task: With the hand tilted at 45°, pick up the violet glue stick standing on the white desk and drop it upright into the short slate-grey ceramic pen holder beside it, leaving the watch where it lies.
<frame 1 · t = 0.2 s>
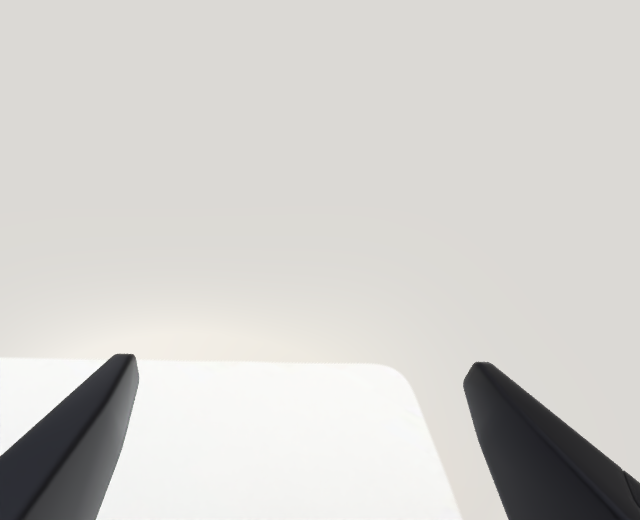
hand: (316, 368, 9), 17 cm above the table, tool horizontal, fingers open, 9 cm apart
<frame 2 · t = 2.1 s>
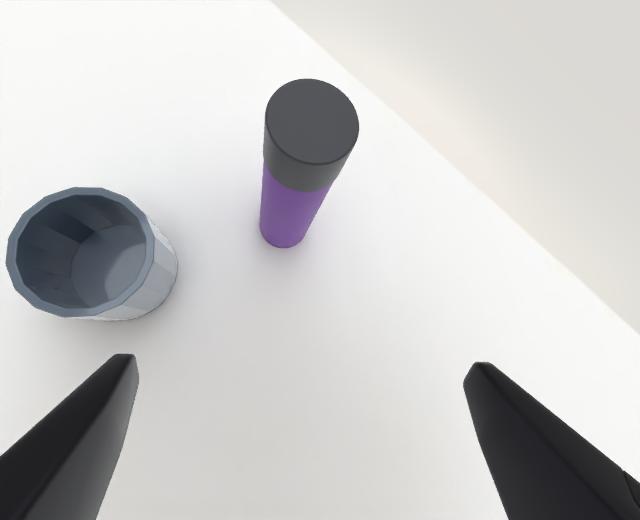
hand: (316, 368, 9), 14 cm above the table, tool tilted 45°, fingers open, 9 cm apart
glue stick: (283, 225, 24), on the table
pen holder: (124, 269, 22), on the table
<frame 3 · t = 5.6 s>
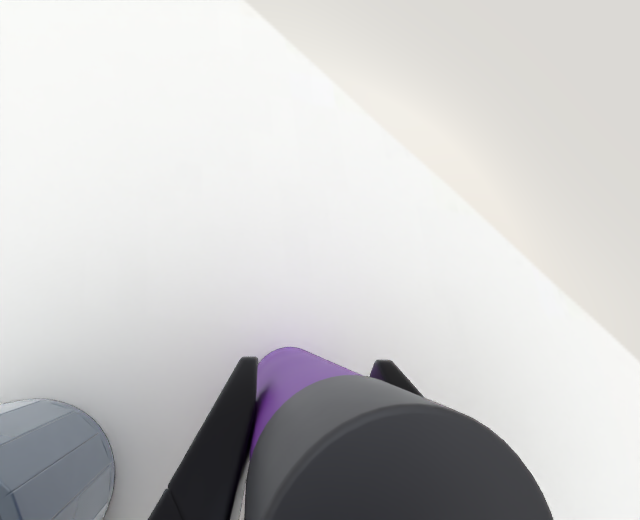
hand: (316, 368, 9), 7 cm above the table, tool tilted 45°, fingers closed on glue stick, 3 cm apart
glue stick: (288, 384, 15), on the table, touching gripper
pen holder: (23, 487, 13), on the table
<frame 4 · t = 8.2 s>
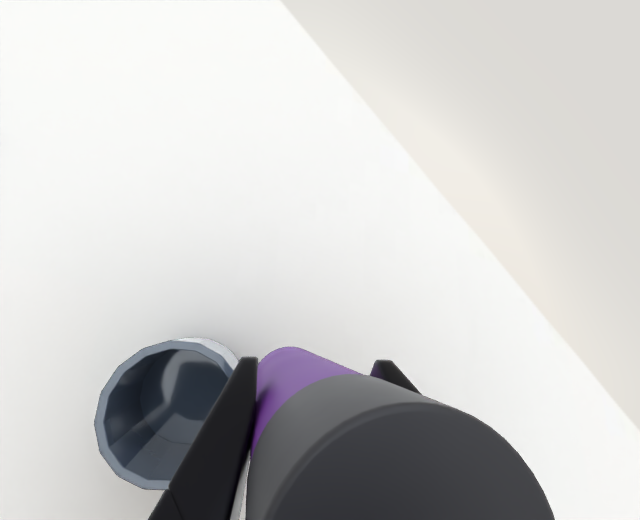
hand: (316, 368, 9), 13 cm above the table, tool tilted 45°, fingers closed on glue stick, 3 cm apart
glue stick: (288, 384, 15), point 7 cm above the table, touching gripper
pen holder: (192, 391, 21), on the table
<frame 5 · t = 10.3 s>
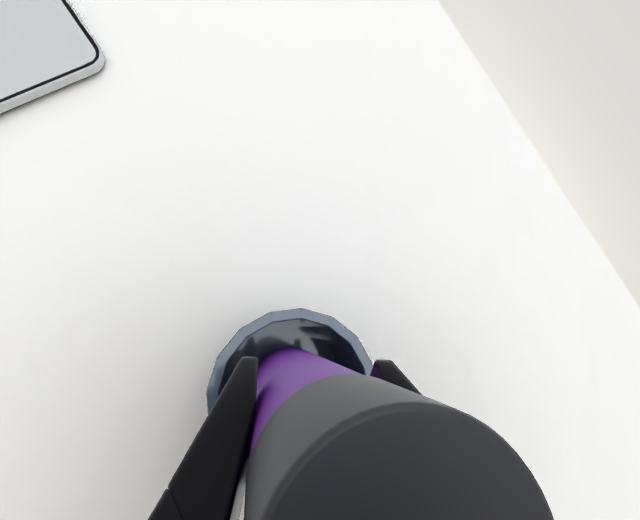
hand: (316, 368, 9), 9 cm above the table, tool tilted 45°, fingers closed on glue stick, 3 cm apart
glue stick: (288, 384, 15), point 3 cm above the table, touching gripper
pen holder: (283, 375, 18), on the table
when the fingers open (7 cm above the table, at t = 11.3 s): glue stick stays where it is, resting on pen holder.
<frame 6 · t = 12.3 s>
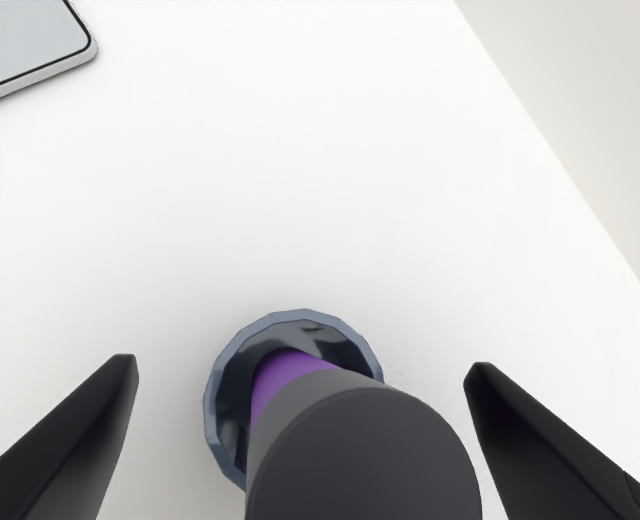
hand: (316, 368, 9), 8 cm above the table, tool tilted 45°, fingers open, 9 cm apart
glue stick: (285, 381, 17), resting on pen holder
pen holder: (284, 379, 17), on the table
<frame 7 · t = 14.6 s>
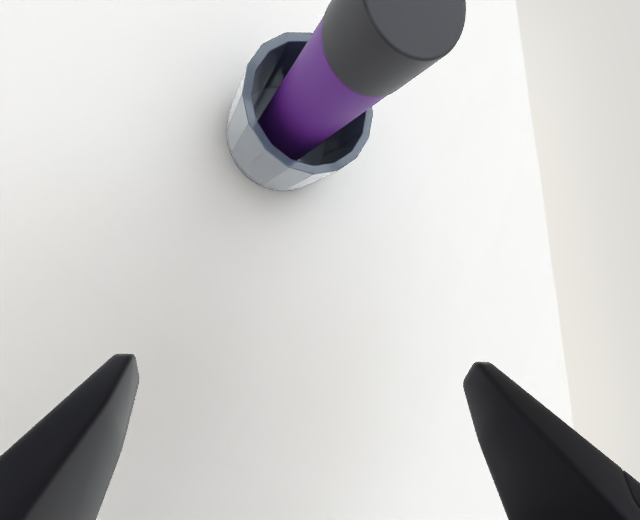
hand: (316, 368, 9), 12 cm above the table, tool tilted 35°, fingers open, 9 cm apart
glue stick: (281, 136, 21), resting on pen holder
pen holder: (279, 138, 21), on the table
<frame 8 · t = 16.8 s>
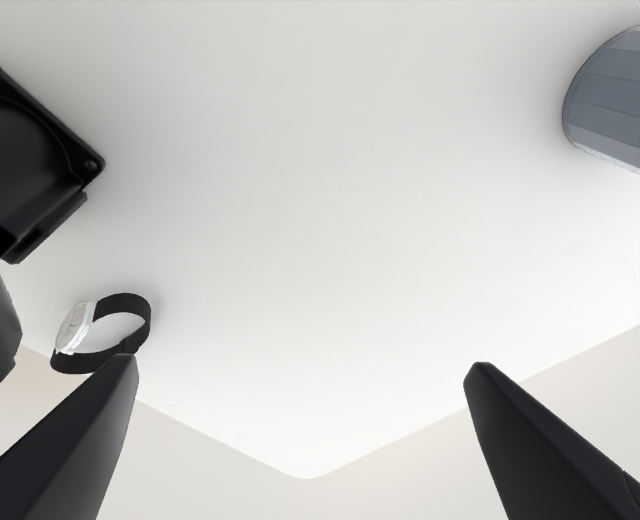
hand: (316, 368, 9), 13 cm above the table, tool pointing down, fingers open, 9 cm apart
watch: (111, 318, 24), on the table
pen holder: (619, 93, 19), on the table
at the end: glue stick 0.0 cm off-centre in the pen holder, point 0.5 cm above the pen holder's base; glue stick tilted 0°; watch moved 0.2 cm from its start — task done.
